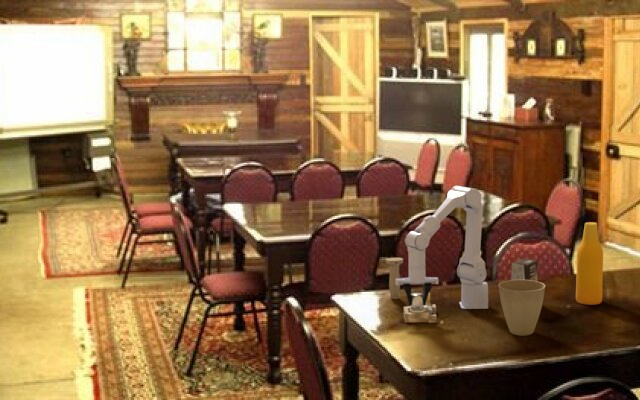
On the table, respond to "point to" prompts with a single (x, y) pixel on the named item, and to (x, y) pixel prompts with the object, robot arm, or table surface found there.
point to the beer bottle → (589, 267)
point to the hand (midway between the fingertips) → (417, 304)
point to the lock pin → (428, 304)
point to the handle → (394, 276)
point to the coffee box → (524, 270)
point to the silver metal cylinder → (417, 303)
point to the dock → (420, 315)
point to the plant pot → (521, 304)
